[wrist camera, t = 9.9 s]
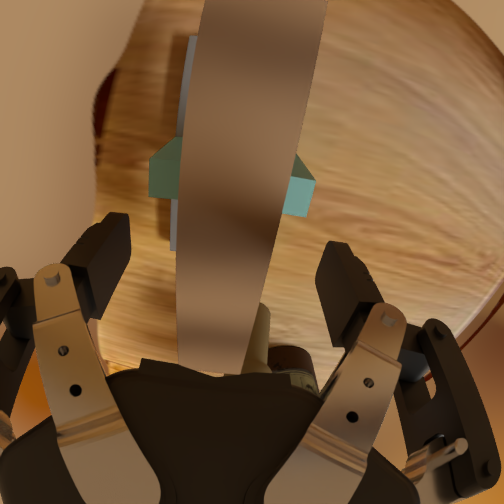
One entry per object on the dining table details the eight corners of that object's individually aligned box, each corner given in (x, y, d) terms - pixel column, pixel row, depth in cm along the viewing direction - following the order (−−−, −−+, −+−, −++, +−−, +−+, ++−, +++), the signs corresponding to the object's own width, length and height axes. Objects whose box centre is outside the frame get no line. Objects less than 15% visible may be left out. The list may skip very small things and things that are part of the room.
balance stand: (192, 38, 17) (167, 16, 10) (312, 56, 18) (348, 44, 11) (173, 242, 28) (152, 299, 21) (268, 254, 29) (276, 313, 22)
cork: (216, 303, 33) (210, 383, 24) (266, 296, 33) (274, 376, 24) (229, 334, 37) (227, 407, 27) (273, 328, 36) (281, 402, 27)
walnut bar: (222, 18, 11) (209, -19, 6) (296, 30, 11) (328, 1, 6) (189, 304, 22) (178, 368, 17) (239, 310, 22) (240, 374, 17)
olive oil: (299, 380, 45) (317, 515, 24) (240, 376, 43) (243, 521, 22) (326, 345, 39) (359, 507, 18) (257, 338, 37) (268, 522, 16)
